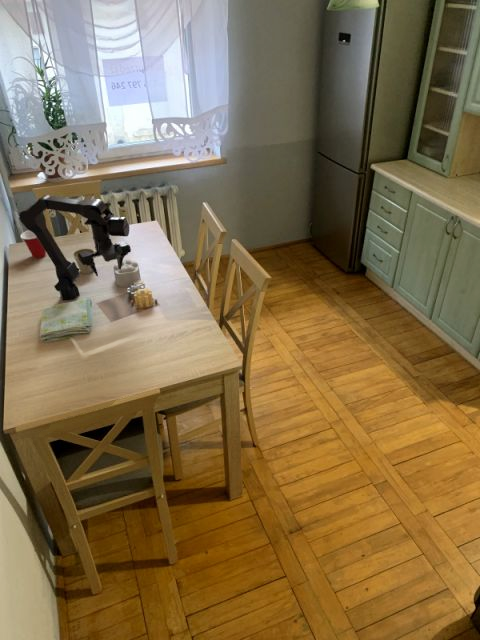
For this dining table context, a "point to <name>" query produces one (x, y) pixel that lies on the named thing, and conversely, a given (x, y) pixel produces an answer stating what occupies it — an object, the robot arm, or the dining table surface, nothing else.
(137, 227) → the dining table surface
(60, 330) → the towel
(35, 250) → the plastic cup
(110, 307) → the board
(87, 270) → the flower pot
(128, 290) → the gear
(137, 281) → the small gear
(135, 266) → the grey paw block
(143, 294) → the loose gear
